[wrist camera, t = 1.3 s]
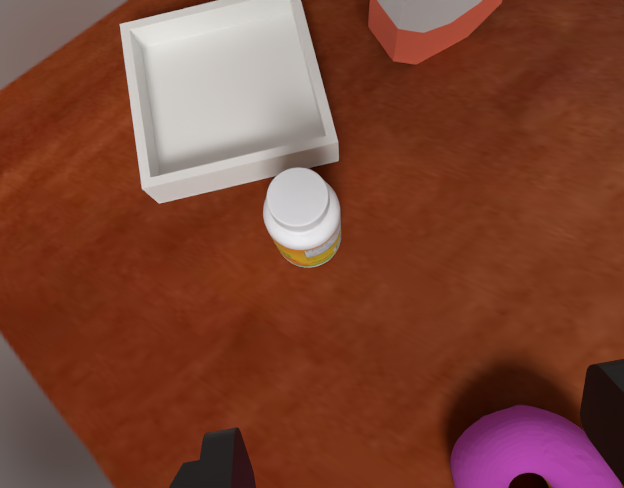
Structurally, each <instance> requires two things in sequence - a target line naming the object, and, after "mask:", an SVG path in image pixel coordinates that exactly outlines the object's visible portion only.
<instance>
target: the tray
mask: <svg viewBox="0 0 624 488" xmlns="http://www.w3.org/2000/svg"><path fill="white" fill-rule="evenodd" d="M120 30H121V37H122V45H123V52H124V59H125V67H126V74H127V82H128V89H129V96H130V104H131V111H132V118H133V126H134V133H135V141H136V148H137V155H138V163H139V170H140V177H141V185H142V189H143V190H144V191H145V192H146V193H147V194H148V195H150V196H151V197H152V198H153V199H154V200H155V201H157V202H158V203H159V204H160V203H164V202H168V201H173V200H177V199H181V198H185V197H189V196H194V195H198V194H202V193H206V192H210V191H215V190H219V189H223V188H227V187H232V186H236V185H240V184H244V183H248V182H253V181H257V180H261V179H265V178H269V177H274V176H277V175H278V174H279V173H281V172H283V171H285V170H287V169H290V168H297V167H300V168H311V167H316V166H320V165H324V164H328V163H333V162H337V161H339V148H338V139H337V135H336V132H335V128H334V124H333V120H332V116H331V113H330V109H329V105H328V101H327V98H326V94H325V90H324V86H323V82H322V79H321V75H320V71H319V67H318V63H317V60H316V56H315V52H314V48H313V44H312V41H311V37H310V33H309V29H308V25H307V22H306V18H305V14H304V10H303V6H302V3H301V0H217V1H213V2H209V3H205V4H201V5H197V6H193V7H189V8H184V9H180V10H176V11H172V12H168V13H164V14H160V15H156V16H151V17H147V18H143V19H139V20H135V21H131V22H127V23H123V24H120Z"/></svg>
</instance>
